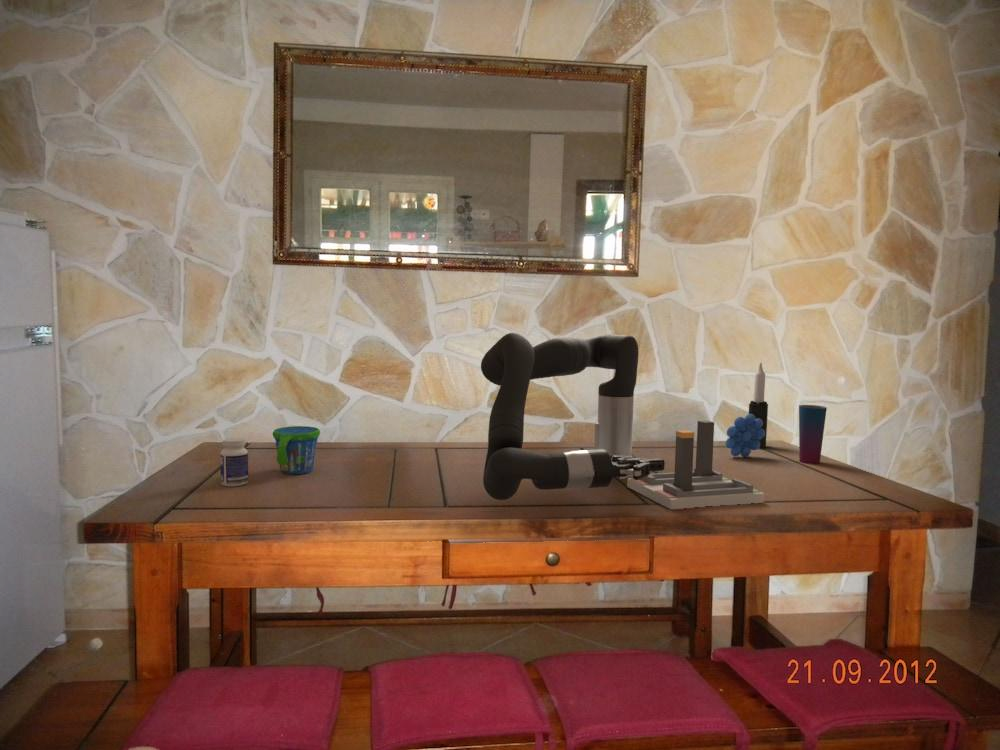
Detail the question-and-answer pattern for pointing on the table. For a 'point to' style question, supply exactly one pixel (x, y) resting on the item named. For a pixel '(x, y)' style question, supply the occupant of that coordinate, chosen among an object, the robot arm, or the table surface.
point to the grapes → (745, 435)
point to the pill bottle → (234, 462)
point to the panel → (698, 481)
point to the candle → (760, 402)
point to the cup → (811, 432)
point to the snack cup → (296, 448)
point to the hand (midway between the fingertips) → (662, 464)
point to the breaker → (684, 460)
